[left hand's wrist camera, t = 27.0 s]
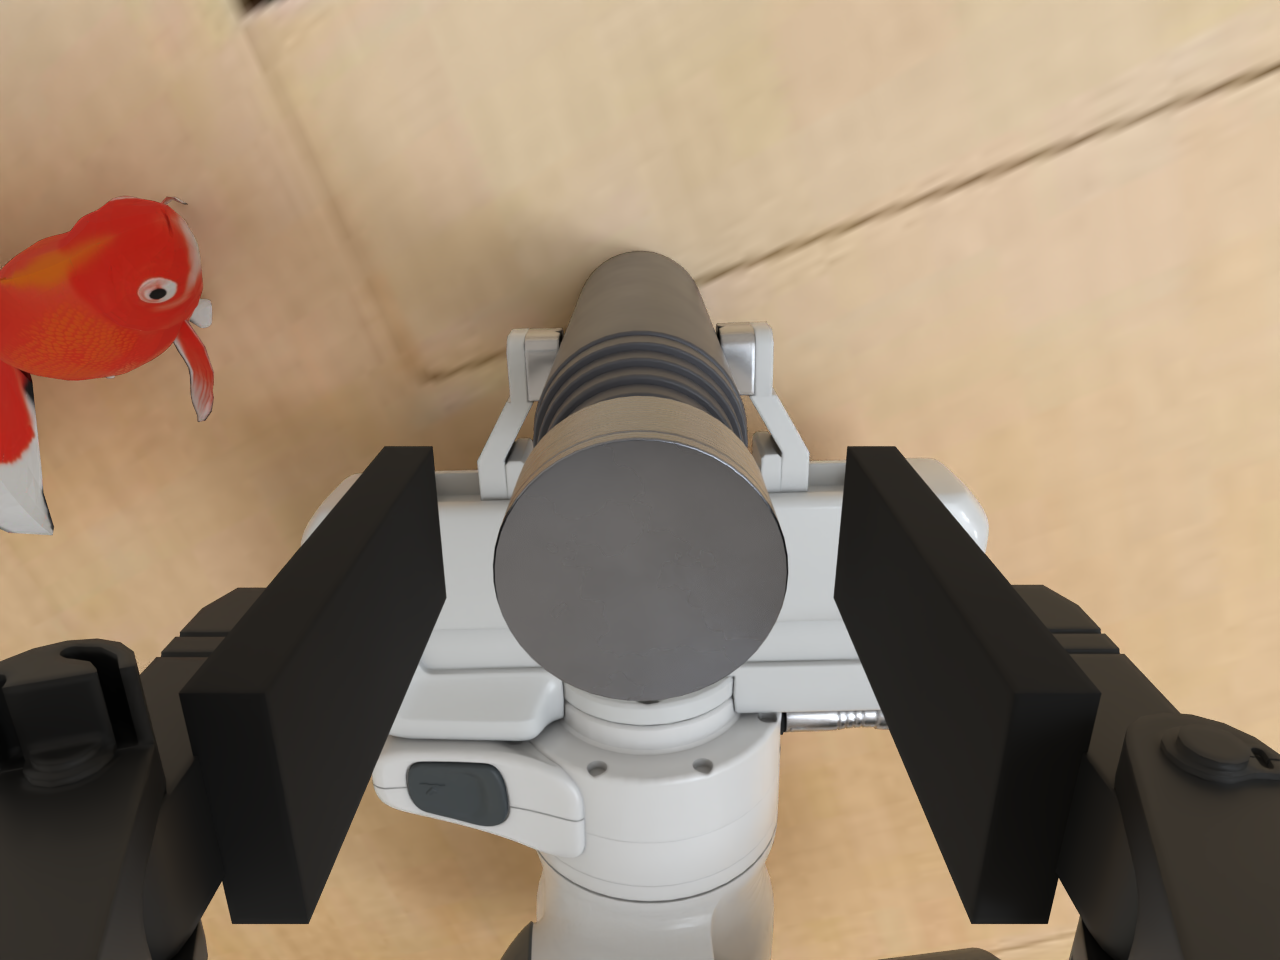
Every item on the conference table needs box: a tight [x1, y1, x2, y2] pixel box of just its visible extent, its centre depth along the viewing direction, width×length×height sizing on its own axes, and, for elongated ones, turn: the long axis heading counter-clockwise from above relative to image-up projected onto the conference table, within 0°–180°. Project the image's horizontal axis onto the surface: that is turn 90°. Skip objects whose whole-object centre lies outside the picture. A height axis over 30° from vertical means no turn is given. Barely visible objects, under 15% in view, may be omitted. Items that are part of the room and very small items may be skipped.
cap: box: [493, 396, 789, 701], centre depth 13 cm, size 4×4×2 cm
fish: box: [0, 196, 214, 535], centre depth 27 cm, size 11×16×10 cm
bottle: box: [533, 251, 748, 449], centre depth 22 cm, size 4×4×19 cm
